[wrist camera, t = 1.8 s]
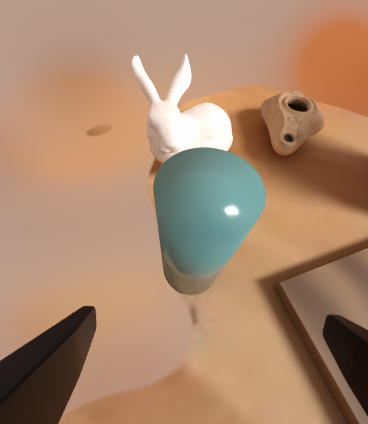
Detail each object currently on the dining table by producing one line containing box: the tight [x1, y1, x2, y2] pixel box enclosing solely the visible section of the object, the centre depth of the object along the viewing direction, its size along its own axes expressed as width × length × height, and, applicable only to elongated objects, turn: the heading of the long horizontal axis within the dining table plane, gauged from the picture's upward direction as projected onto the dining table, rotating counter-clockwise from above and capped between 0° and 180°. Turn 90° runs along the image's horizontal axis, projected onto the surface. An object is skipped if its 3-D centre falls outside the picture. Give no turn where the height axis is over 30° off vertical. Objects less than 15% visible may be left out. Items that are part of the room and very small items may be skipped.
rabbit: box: [131, 54, 233, 165], centre depth 24 cm, size 12×9×12 cm
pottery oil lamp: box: [260, 90, 324, 155], centre depth 30 cm, size 9×12×7 cm
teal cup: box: [153, 147, 266, 295], centre depth 16 cm, size 6×6×13 cm
